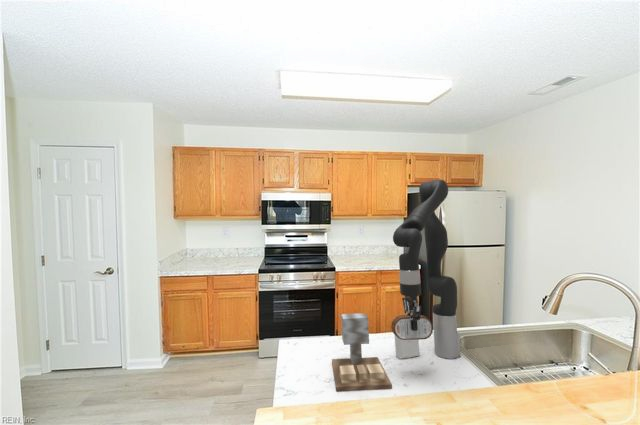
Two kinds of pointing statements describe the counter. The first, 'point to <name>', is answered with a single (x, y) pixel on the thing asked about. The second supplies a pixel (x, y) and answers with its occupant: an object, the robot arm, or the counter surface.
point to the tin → (403, 328)
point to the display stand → (358, 359)
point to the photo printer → (406, 348)
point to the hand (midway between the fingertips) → (412, 328)
